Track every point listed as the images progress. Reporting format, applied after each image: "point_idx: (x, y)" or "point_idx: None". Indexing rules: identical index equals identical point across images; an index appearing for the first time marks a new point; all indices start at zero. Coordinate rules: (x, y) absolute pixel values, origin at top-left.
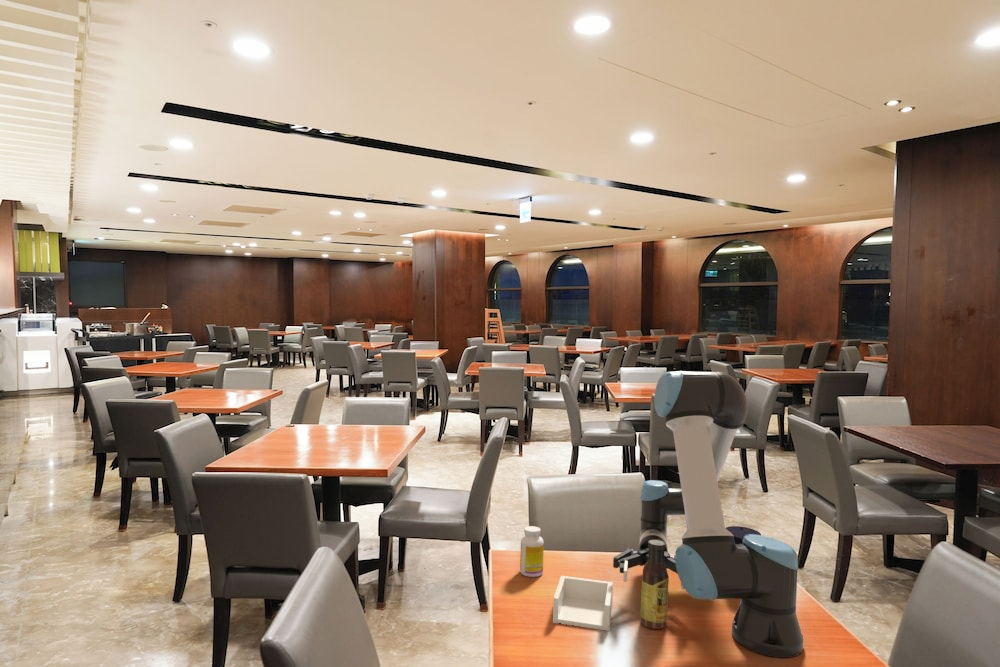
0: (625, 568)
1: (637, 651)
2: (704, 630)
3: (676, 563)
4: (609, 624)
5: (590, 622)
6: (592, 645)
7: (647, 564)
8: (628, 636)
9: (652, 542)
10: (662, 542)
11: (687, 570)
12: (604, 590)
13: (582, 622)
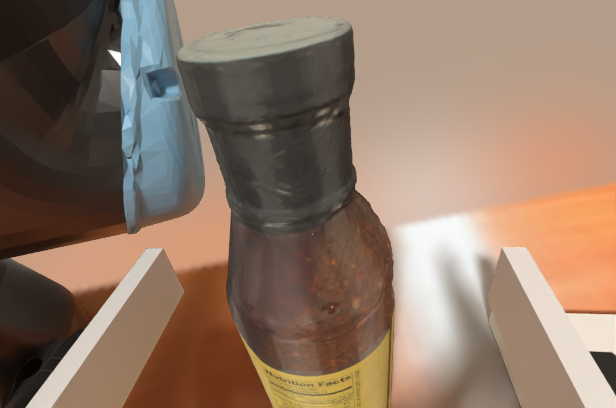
0: (534, 281)
1: None
2: (146, 404)
3: (188, 123)
4: (497, 326)
5: (571, 322)
6: (500, 247)
7: (359, 194)
8: (417, 305)
9: (309, 23)
10: (200, 43)
11: None
12: None
13: (599, 315)
